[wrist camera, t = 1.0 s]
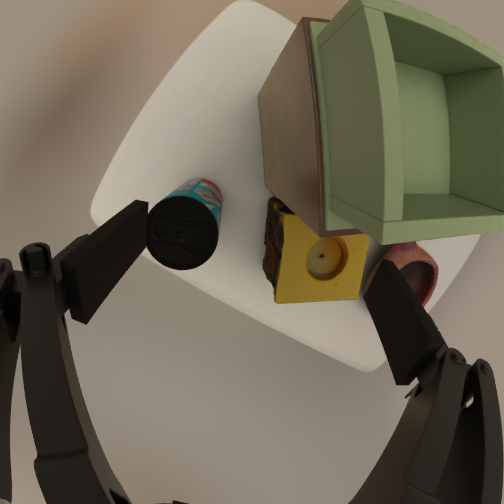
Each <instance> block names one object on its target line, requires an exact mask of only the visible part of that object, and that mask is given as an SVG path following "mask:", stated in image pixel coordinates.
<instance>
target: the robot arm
mask: <svg viewBox="0 0 504 504" xmlns="http://www.w3.org/2000/svg"><path fill="white" fill-rule="evenodd" d="M148 204H149V202H145V201H140V200H135V201H133V202H132V203H131V204H129V205H128V206H127V207H125V208H124V209H123V210H121V211H120V212H119V213H117V214H116V215H115V216H113V217H112V218H111V219H109V220H108V221H107V222H105V223H104V224H103V225H102V226H100V227H99V228H98V229H97V230H96V231H94V232H93V233H92V234H90V235H88V234H85V235H83V236H80V237H78V238H76V239H75V240H74V241H73V242H72V243H71V244H70V245H68V246H67V247H66V248H65V249H63V250H62V251H61V252H60V253H58V254H57V255H56V256H55V257H54V258H53V259H52V258H51V251H50V247H49V246H48V245H47V244H46V243H41V242H40V243H32V244H29V245H27V246H25V247H24V248H23V249H22V250H21V251H20V253H19V257H20V261H21V265H22V269H23V271H17V270H13V267H12V263H11V261H10V260H8V259H5V258H2V259H0V504H11V501H12V478H11V461H10V416H11V402H12V391H13V383H14V377H15V370H16V364H17V358H18V353H19V348H20V344H21V361H22V373H23V383H24V390H25V398H26V404H27V409H28V415H29V420H30V425H31V429H32V434H33V438H34V442H35V446H36V449H37V458H36V459H35V460H34V469H35V473H36V477H37V480H38V483H39V485H40V488H41V491H42V493H43V496H44V498H45V501H46V503H47V504H132V503H131V501H130V499H129V498H128V496H127V494H126V493H125V491H124V490H123V488H122V486H121V484H120V483H119V481H118V479H117V478H116V476H115V475H114V473H113V471H112V469H111V467H110V465H109V463H108V461H107V459H106V457H105V454H104V452H103V450H102V447H101V445H100V443H99V440H98V438H97V435H96V433H95V430H94V428H93V425H92V422H91V419H90V416H89V413H88V410H87V407H86V404H85V401H84V398H83V395H82V391H81V388H80V384H79V381H78V377H77V373H76V369H75V365H74V361H73V357H72V351H71V347H70V342H69V337H68V331H67V325H66V320H65V316H64V314H65V312H66V311H67V310H68V309H69V310H70V314H71V317H72V319H74V320H76V321H79V322H81V323H84V324H86V325H87V323H88V322H89V320H90V319H91V318H92V316H93V315H94V313H95V312H96V311H97V309H98V308H99V306H100V305H101V304H102V302H103V301H104V300H105V298H106V297H107V296H108V294H109V293H110V292H111V290H112V289H113V288H114V286H115V285H116V284H117V283H118V281H119V280H120V279H121V278H122V276H123V275H124V274H125V272H126V271H127V270H128V269H129V267H130V266H131V265H132V264H133V262H134V261H135V260H136V259H137V258H138V256H139V255H140V254H141V253H142V252H143V250H144V249H145V248H146V234H147V217H148ZM363 298H364V300H365V302H366V305H367V307H368V310H369V312H370V314H371V317H372V319H373V322H374V324H375V327H376V330H377V332H378V335H379V337H380V340H381V343H382V345H383V348H384V351H385V354H386V356H387V359H388V362H389V365H390V368H391V371H392V374H393V377H394V379H395V382H396V385H409V384H410V383H411V382H412V381H413V380H414V379H415V378H416V377H417V379H418V381H419V383H418V384H417V385H416V386H415V387H414V388H413V389H412V390H411V391H410V392H409V393H408V394H407V395H406V396H405V398H407V397H408V396H410V399H409V401H408V403H407V406H406V408H405V410H404V412H403V415H402V417H401V419H400V421H399V423H398V425H397V427H396V429H395V431H394V433H393V435H392V437H391V439H390V440H389V443H388V444H387V446H386V448H385V450H384V451H383V453H382V455H381V457H380V458H379V460H378V462H377V464H376V465H375V467H374V468H373V470H372V471H371V473H370V475H369V476H368V478H367V479H366V481H365V482H364V484H363V485H362V487H361V488H360V490H359V491H358V492H357V494H356V495H355V496H354V498H353V499H352V500H351V501H350V502H349V503H348V504H501V499H502V487H503V439H502V438H503V437H502V425H501V416H500V409H499V402H498V396H497V390H496V385H495V379H494V375H493V371H492V368H491V367H490V364H489V363H488V362H487V361H485V360H483V359H477V361H476V362H475V363H474V364H473V365H469V364H466V360H465V358H464V356H463V355H462V354H461V353H460V352H459V351H458V350H456V349H454V348H448V346H447V344H446V342H445V341H444V339H443V337H442V335H441V333H440V332H439V331H438V328H437V326H436V325H435V323H434V321H433V320H432V318H431V316H430V315H429V314H428V313H427V312H426V311H425V309H424V307H423V306H422V304H421V303H420V301H419V299H418V298H417V296H416V295H415V293H414V292H413V290H412V288H411V287H410V285H409V284H408V282H407V281H406V279H405V278H404V276H403V275H402V274H401V272H400V271H399V269H398V268H397V266H396V265H395V263H394V262H393V261H390V260H387V259H383V258H382V261H381V263H380V265H379V267H378V269H377V271H376V273H375V275H374V277H373V279H372V281H371V283H370V285H369V287H368V289H367V291H366V293H365V294H364V296H363ZM472 397H473V403H472V404H471V405H470V406H469V407H466V403H467V402H468V401H469V400H470V399H471V398H472ZM160 504H167V503H160ZM172 504H187V503H182V502H178V501H174V500H173V503H172Z"/></svg>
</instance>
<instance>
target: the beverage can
mask: <svg viewBox="0 0 504 504" xmlns="http://www.w3.org/2000/svg"><path fill="white" fill-rule="evenodd" d="M221 209H222V195H221V193H220V191H219V189H218V187H217V186H216V185H215V184H214V183H212V182H211V181H209V180H206V179H200V178H198V179H192V180H189V181H188V182H186V183H184V184H183V185H182V186H180V187H179V188H177V189H176V190H175V191H173V192H172V193H170V194H169V195H168V196H166V197H165V198H164V199H162V200H161V201H160V202H159V203H157V204H156V205H155V206H154V207H153V208H152V209H151V210H150V212H149V213H148V217H147V234H146V246H147V249H148V250H149V252H150V253H151V255H152V256H153V257H154V258H155V259H156V260H157V261H158V262H159V263H161V264H162V265H164V266H166V267H169V268H172V269H176V270H189V269H193V268H196V267H198V266H200V265H202V264H203V263H205V262H206V261H207V260H208V259H209V258H210V257H211V256H212V254H213V253H214V251H215V249H216V246H217V243H218V235H219V228H220V219H221Z"/></svg>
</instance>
